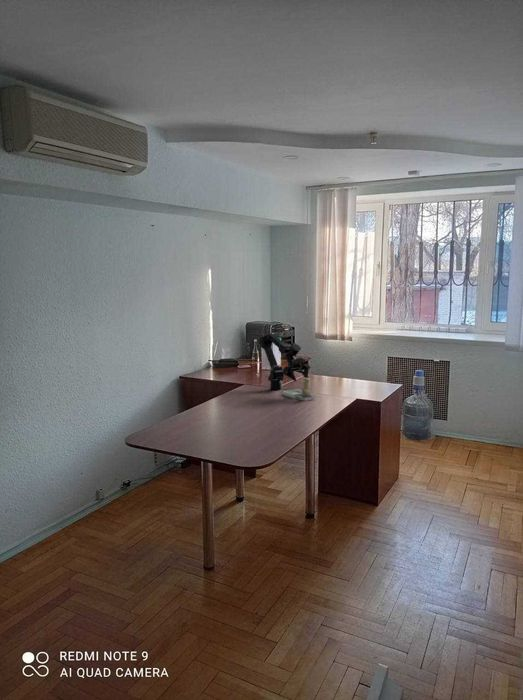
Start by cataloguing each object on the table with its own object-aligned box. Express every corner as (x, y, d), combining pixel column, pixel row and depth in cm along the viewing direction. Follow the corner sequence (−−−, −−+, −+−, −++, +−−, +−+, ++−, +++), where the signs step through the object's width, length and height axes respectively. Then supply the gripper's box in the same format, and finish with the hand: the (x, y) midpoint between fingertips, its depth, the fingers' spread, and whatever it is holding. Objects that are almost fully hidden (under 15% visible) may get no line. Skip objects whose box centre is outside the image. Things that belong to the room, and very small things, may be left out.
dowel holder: (297, 398, 320) (297, 395, 320) (307, 397, 324) (307, 394, 324) (304, 401, 314) (304, 397, 314) (314, 399, 318) (314, 396, 318)
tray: (282, 395, 330) (282, 391, 330) (297, 393, 336) (297, 389, 336) (293, 398, 320) (293, 394, 320) (308, 396, 327) (308, 392, 326)
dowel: (300, 399, 318) (300, 378, 316) (303, 397, 322) (303, 377, 321) (308, 400, 316) (308, 379, 314) (310, 398, 320) (311, 378, 319)
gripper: (284, 353, 319) (295, 374, 311) (308, 351, 329) (319, 371, 321) (277, 364, 327) (287, 384, 319) (301, 362, 336) (311, 381, 329)
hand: (301, 380), depth 321 cm, fingers open, 9 cm apart
